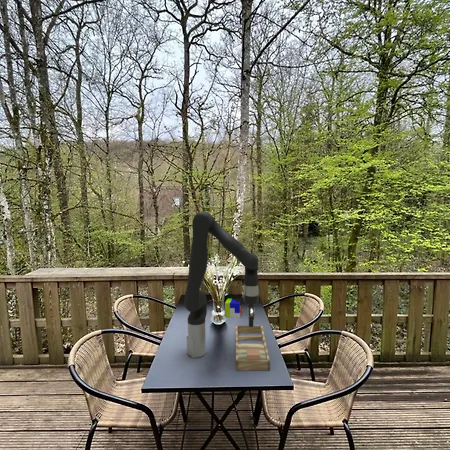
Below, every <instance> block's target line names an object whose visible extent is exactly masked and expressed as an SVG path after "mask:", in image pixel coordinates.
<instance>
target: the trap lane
mask: <svg viewBox="0 0 450 450" xmlns="http://www.w3.org/2000/svg"><path fill="white" fill-rule="evenodd" d="M238 334H241V335H238ZM242 334H244V335H242ZM245 334H246V335H245ZM247 334H248V335H247ZM251 334H252V335H251ZM254 334H256V335H254ZM265 337H266V336H265V332H264V327H263V325H262V324H259V325H257V324H255V325H254V324H253V327H249V324H248V325H247V324H246V325H245V324H244V325H242V324H241V325H238V324H236V325H235V371H271V361H270V355H269V351H268V345H267V341H266V338H265ZM239 341H261V342H262V343H239ZM247 349H259V352H260V360H247Z"/></svg>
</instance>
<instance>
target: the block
mask: <svg viewBox="0 0 450 450" xmlns="http://www.w3.org/2000/svg"><path fill="white" fill-rule="evenodd" d="M247 360H260V352H259V349H247Z"/></svg>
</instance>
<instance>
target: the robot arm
mask: <svg viewBox="0 0 450 450" xmlns="http://www.w3.org/2000/svg"><path fill="white" fill-rule="evenodd" d="M191 223H192V225H191V226H192V227H191V228H192V241H191V247H190V253H189V261H188V262H189V263H188V273H187V285H186V290H185V295H184V302H183V304H184V308H185V309H186V310H187V312H190V313H189V314H188V317H187V336H186V354H187V355H188V356H190V357H191V358H192V359H196V358H201V357H204V356H206V354H207V338H206V337H207V336H206V334H207V333H206V317H207V313H208V312H207V311H208V302H207V296H206V294H205V292H204V291H202V290H200V289H201V286H202V282H203V281H204V278H205V276H206V273H207V270H208V269H207V268H208V262H209V249H208V235H209V233H210V234H211V235H212V236H213V237H214V238H215V239H216V240H217V241H218V242H219V243H220V245H221V246H222V247H223V248H225V250H226V251H228V252H229V253H230V254H231V255H232V256H234V257H235V258H236V259H237V261H239V262H240V264H241V265H243V266H244V278H243V282H244V283H243V303H244V304H245V305H246V310H247V316H248V317H247V319H248V325H249V327H253V325H254V321H255V316H256V315H255V313H256V312H255V311H256V305H257V304H258V303H259V300H260V298H259V296H260V295H259V291H260V290H259V273H258V271H259V257H258V255H256V254H255V253H252V252H250V251H249V250H247V249H246V247H245V245H243V243H241V242H240V241H239V240H237V239H236V238H235V237H234V236H233V235H231V234H230V233H229V232H227V230H225V229H224V227H223V226H221V225H220V224H219V223H218V222H217V220H216V219H215V218H214V217H213V216H212V215H211V213H210V212H208V211H200V212H198V213H196V214H195V215H194V216H193V218H192V222H191Z"/></svg>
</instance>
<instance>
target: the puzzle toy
mask: <svg viewBox="0 0 450 450" xmlns="http://www.w3.org/2000/svg"><path fill="white" fill-rule="evenodd" d="M242 309H243V307H242V298H227V299H226V300H225V302H224V315H225V314H226V316H227V317H226V318H232V317H234V318H233V319H240V318H241V315H242V313H243V312H242V311H243V310H242ZM241 312H242V313H241Z"/></svg>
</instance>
